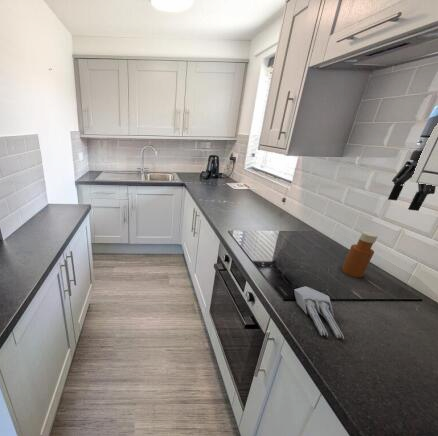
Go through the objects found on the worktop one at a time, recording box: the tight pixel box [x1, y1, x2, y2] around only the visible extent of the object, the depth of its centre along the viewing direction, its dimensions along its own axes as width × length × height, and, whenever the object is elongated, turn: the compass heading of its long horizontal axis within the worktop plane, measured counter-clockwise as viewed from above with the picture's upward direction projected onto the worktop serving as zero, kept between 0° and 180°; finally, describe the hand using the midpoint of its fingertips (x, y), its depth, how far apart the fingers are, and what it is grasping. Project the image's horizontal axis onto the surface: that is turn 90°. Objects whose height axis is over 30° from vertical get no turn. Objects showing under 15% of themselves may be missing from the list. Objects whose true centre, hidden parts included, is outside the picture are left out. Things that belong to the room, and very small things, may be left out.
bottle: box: [341, 238, 375, 278], centre depth 98 cm, size 7×7×16 cm
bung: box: [359, 230, 379, 244], centre depth 95 cm, size 5×5×6 cm
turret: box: [293, 285, 345, 340], centre depth 77 cm, size 10×20×5 cm, turn 171°
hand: (401, 204), depth 93 cm, fingers open, 13 cm apart
